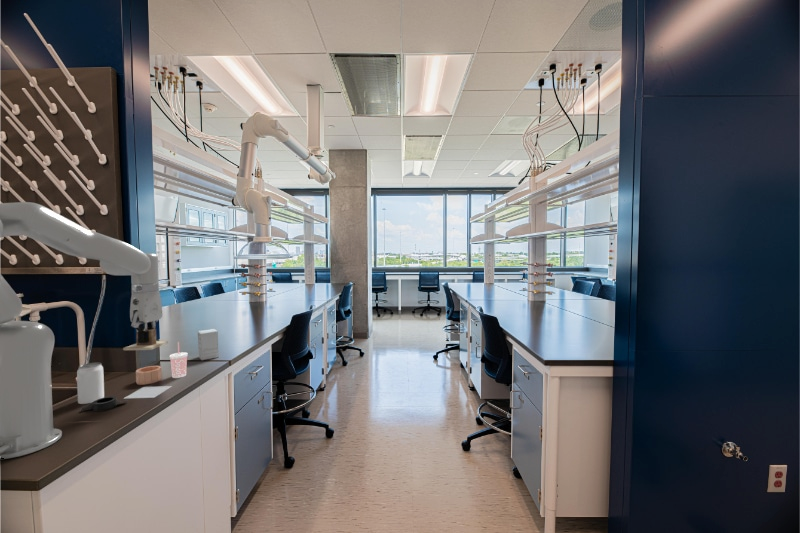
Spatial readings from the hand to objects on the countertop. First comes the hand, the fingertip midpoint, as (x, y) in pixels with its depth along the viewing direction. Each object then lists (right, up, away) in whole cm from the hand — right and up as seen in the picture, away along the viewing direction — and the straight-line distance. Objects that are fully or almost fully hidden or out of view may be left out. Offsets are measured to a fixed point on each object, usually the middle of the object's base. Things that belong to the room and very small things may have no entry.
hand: (146, 341), depth 118 cm
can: (-14, -19, -5) cm, 24 cm away
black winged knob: (-5, -19, -11) cm, 23 cm away
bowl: (-8, -18, +11) cm, 23 cm away
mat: (0, -18, +1) cm, 18 cm away
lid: (0, -2, 0) cm, 2 cm away
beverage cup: (0, -18, +17) cm, 25 cm away
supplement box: (-3, -17, +43) cm, 46 cm away
